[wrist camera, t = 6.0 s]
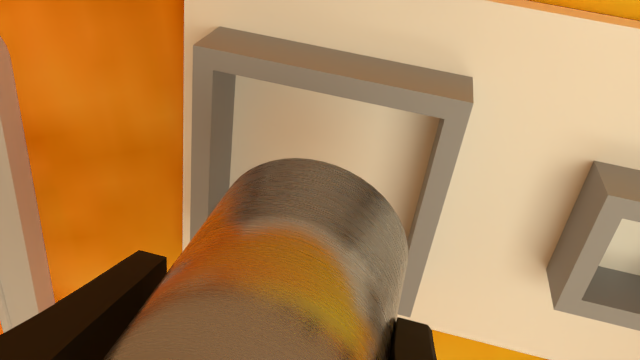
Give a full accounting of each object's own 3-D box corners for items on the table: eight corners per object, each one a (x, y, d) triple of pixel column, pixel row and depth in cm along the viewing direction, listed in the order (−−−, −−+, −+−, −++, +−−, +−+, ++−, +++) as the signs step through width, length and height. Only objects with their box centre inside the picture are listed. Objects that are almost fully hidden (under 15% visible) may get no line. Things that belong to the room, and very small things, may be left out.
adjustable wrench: (-53, 4, 21) (-94, 15, 19) (109, 44, 20) (81, 59, 19) (18, 425, 34) (-2, 451, 32) (119, 457, 33) (103, 486, 32)
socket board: (923, 73, 15) (1018, 118, 12) (701, 379, 21) (734, 451, 18) (198, -60, 17) (152, -45, 15) (192, 250, 23) (159, 298, 21)
